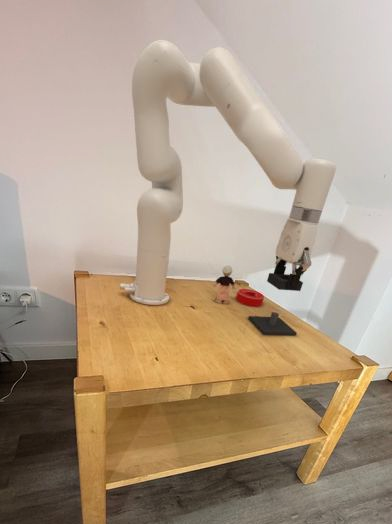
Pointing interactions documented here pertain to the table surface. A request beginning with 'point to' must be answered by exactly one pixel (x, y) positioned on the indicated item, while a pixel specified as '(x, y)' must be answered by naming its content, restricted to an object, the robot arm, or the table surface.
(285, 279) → the top pad
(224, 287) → the grandmother figurine
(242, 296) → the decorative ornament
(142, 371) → the table surface
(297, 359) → the table surface
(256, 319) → the base pad
